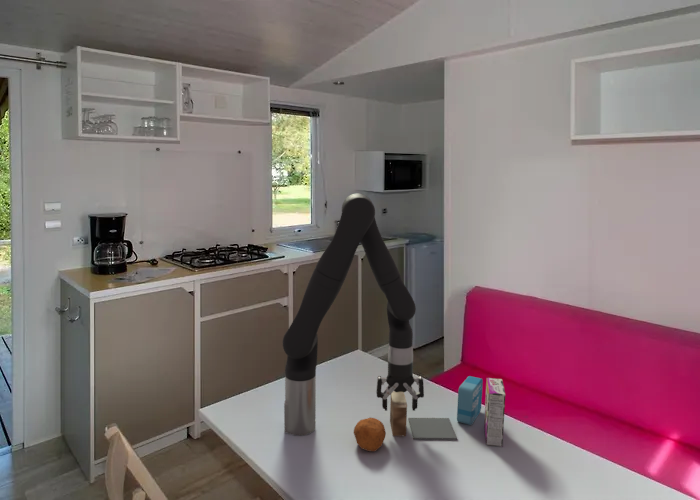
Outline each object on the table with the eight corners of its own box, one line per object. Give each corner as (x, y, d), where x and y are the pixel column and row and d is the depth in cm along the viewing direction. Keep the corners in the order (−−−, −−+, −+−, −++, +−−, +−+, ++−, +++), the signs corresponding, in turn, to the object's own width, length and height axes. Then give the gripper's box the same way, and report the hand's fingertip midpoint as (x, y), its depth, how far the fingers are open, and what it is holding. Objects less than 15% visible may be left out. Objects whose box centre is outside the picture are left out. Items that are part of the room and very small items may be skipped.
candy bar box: (482, 426, 159) (486, 377, 156) (499, 428, 158) (502, 378, 155) (485, 445, 148) (488, 392, 145) (502, 447, 147) (506, 394, 144)
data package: (470, 427, 159) (472, 390, 157) (456, 423, 161) (458, 387, 159) (481, 411, 169) (483, 377, 167) (467, 407, 171) (469, 374, 169)
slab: (392, 436, 152) (393, 404, 151) (389, 421, 161) (390, 391, 160) (406, 436, 153) (407, 405, 151) (402, 421, 162) (403, 391, 160)
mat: (413, 439, 151) (413, 437, 151) (408, 419, 162) (408, 417, 162) (457, 439, 151) (457, 437, 151) (448, 419, 163) (448, 418, 163)
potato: (347, 450, 144) (347, 426, 143) (361, 431, 155) (361, 408, 153) (378, 457, 141) (379, 432, 140) (390, 438, 151) (391, 414, 150)
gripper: (377, 364, 149) (377, 415, 152) (425, 363, 149) (424, 415, 152) (376, 354, 157) (375, 404, 159) (422, 354, 157) (421, 403, 159)
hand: (399, 409), depth 156 cm, fingers open, 8 cm apart
